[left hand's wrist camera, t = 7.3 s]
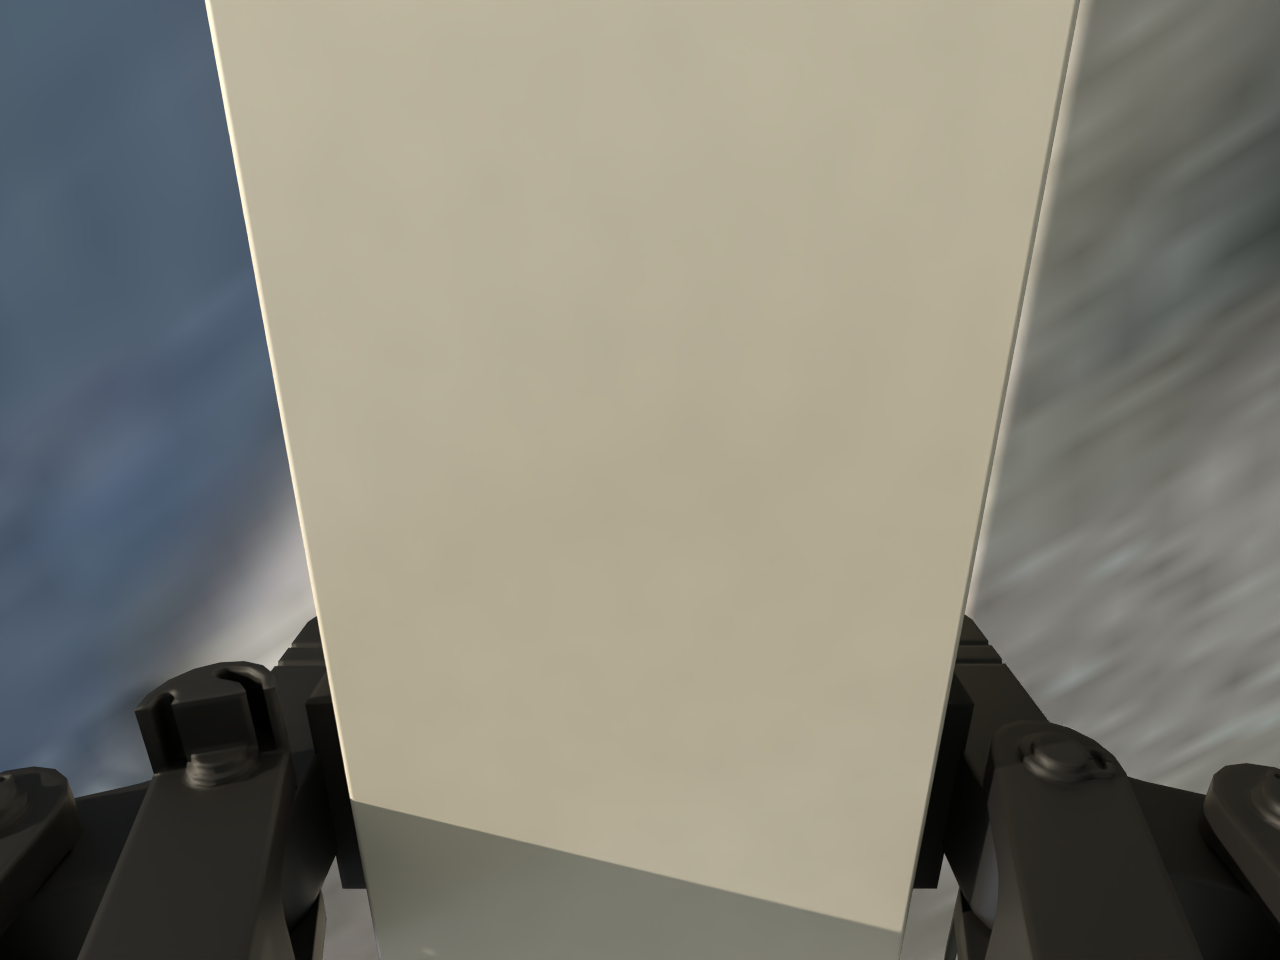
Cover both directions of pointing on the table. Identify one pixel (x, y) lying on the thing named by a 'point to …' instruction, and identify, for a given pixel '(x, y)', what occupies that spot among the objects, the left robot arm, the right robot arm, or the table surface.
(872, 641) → the bar
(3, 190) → the table surface
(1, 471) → the table surface
